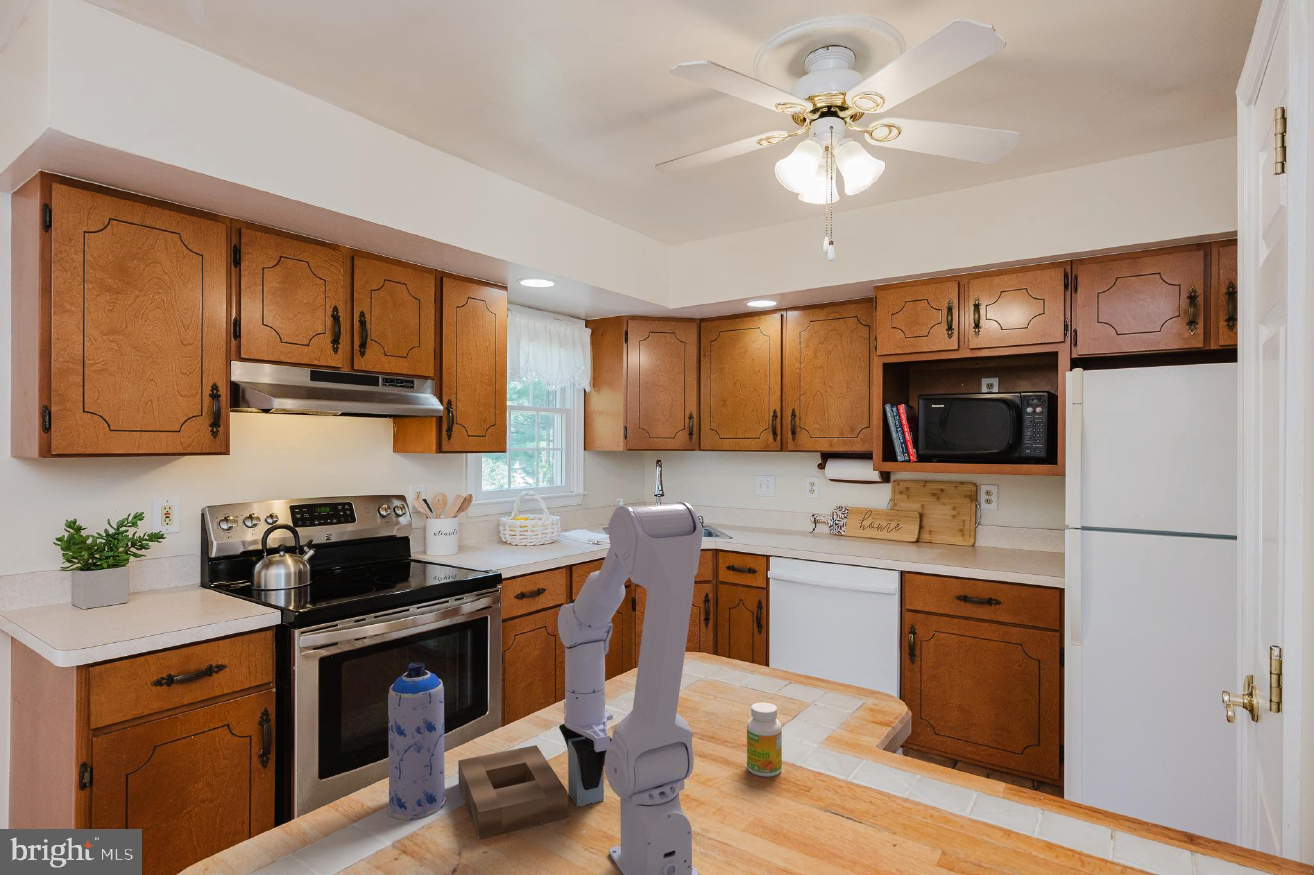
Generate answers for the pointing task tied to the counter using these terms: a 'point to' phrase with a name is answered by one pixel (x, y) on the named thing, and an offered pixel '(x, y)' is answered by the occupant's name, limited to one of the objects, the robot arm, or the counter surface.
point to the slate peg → (575, 782)
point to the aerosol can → (416, 744)
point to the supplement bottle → (764, 740)
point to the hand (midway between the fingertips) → (585, 780)
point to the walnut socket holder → (511, 791)
